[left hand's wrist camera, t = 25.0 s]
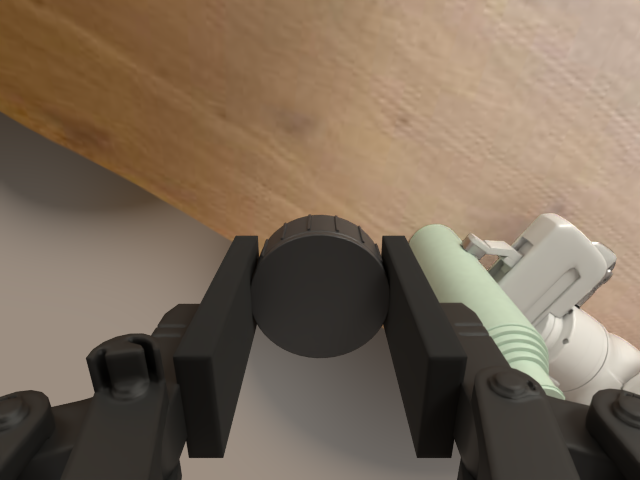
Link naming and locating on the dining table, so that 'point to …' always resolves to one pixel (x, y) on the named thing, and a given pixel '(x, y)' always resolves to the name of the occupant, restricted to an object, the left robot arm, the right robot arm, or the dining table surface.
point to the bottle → (482, 301)
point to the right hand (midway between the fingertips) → (442, 268)
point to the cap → (320, 287)
